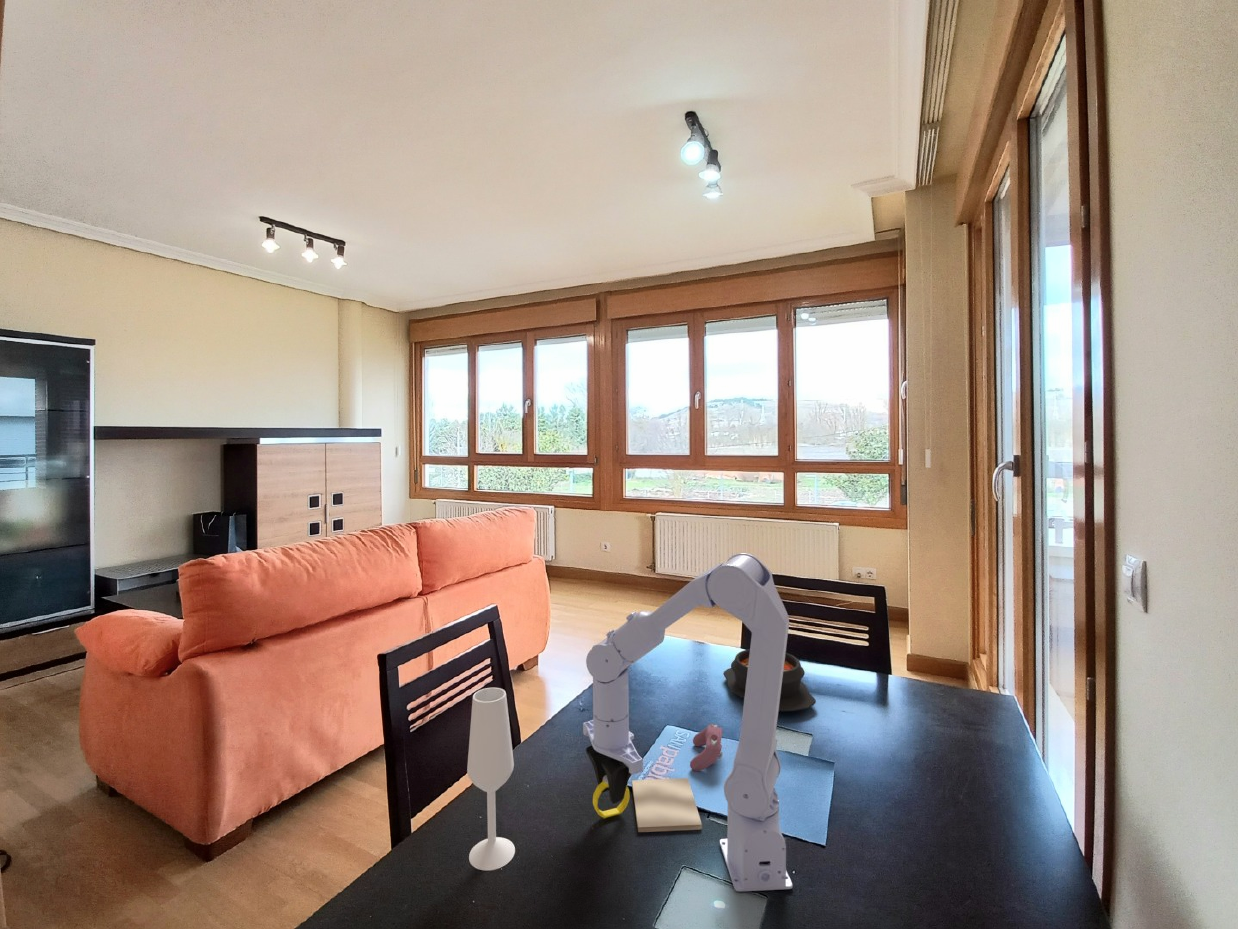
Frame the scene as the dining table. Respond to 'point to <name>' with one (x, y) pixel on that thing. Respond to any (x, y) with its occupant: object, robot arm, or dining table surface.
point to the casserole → (792, 686)
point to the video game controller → (707, 747)
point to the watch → (611, 811)
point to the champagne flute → (490, 770)
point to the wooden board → (665, 805)
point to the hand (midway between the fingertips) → (611, 795)
